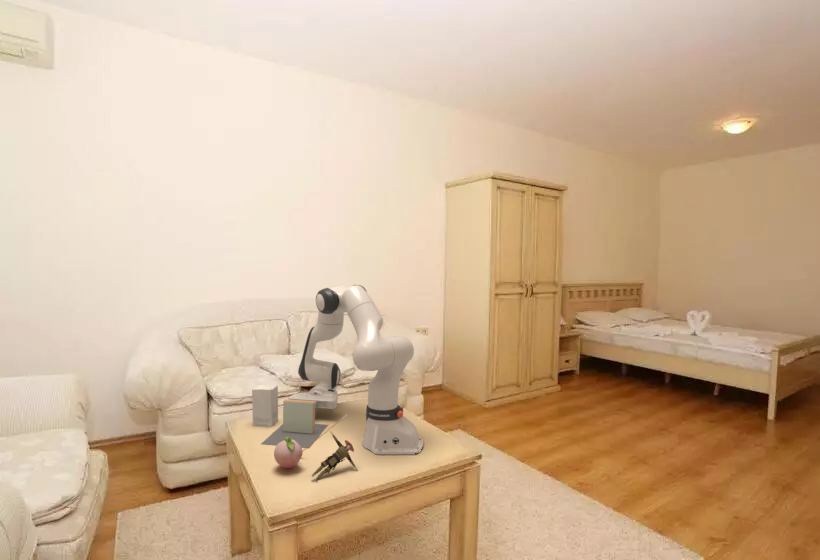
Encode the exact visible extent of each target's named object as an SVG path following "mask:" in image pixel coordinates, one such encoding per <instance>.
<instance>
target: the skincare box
mask: <svg viewBox="0 0 820 560" xmlns="http://www.w3.org/2000/svg"><path fill="white" fill-rule="evenodd" d="M278 386H279V385H277V384H258V385H256V386H255V387H253V388H252V389H251V391H252V392H251V393H252V395H251V396H252V397H251V398H252V399H251V402H252V404H251V405H252V407H251V408H252V426H253V427H262V428H263V427H264V428H273V427H274V426H276V425H277V423H278V422H279V394H278V393H279V390H278V389H279V387H278Z"/></svg>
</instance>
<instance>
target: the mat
mask: <svg viewBox="0 0 820 560" xmlns="http://www.w3.org/2000/svg"><path fill="white" fill-rule="evenodd" d="M328 426H329V424H324V423H322V424H321V423H315V430H314V433H313V434H309V433H296V432H284V431H283V423H282V424H281V425H280V426H279V427H278V428H277V429H275V431H273V432H272V433H271V434H270V435H269V436H268V437H266V439H265V440H264V441H262V442H261V443H260V445H263V446H264V445H265V446H266V445H267V446H275V447H276V446H277V445H278V444H279V443H280V442H282V441H283V440H284V438H285V437H291V438H292V439H293V440H295V441H296V442H297V443H298V444H299V445H300V446H301V448H302V449H305V448H307V447H308V446H309V445H310V444H311V445H310V446H309V447H308V448H307V449H310V448H311V447H312V446H313V444H314V443H315V442H316V441H317V440H318V438H319V437H320V436H321V435H322V434H323V433H324V431H325V430H326V429H327V428H328ZM316 439H317V440H316ZM315 440H316V441H315ZM314 441H315V442H314ZM313 442H314V443H313ZM312 443H313V444H312Z"/></svg>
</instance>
